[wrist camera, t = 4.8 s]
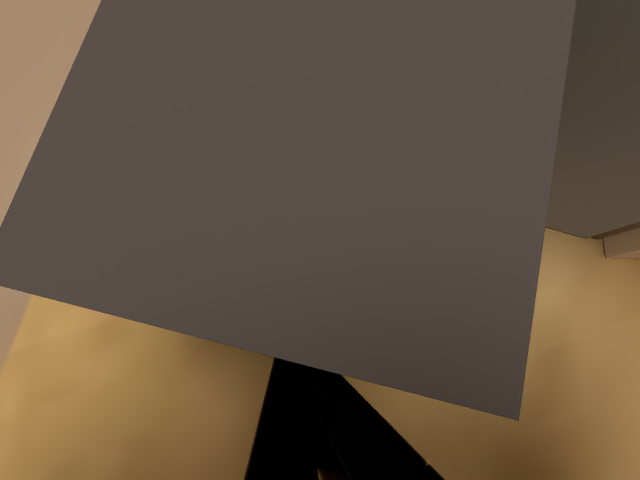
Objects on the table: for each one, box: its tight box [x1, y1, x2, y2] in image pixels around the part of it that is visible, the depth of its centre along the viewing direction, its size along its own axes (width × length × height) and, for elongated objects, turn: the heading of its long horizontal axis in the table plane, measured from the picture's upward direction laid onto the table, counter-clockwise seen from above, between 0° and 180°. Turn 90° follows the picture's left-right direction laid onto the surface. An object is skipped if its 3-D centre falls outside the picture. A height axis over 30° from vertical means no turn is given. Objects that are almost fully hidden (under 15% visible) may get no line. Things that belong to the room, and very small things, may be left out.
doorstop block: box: [0, 0, 576, 421], centre depth 11 cm, size 7×6×11 cm
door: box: [545, 0, 640, 239], centre depth 12 cm, size 3×16×12 cm, turn 76°
